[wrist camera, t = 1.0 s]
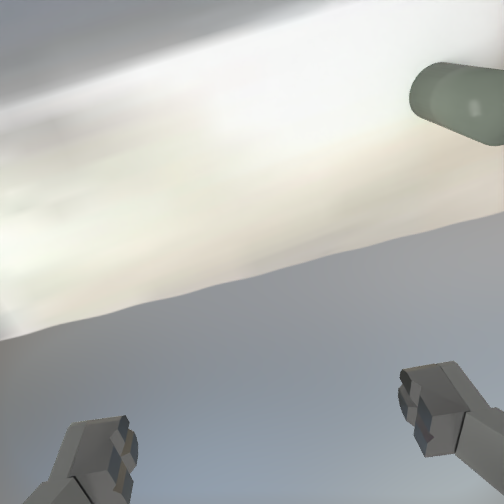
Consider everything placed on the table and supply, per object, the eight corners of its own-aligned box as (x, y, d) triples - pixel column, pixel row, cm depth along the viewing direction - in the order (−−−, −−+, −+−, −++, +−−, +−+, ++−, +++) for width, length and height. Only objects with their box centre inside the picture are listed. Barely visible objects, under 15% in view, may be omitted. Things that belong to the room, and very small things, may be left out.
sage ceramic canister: (411, 66, 34) (478, 78, 26) (465, 58, 34) (550, 67, 26) (407, 122, 37) (466, 150, 28) (457, 115, 37) (531, 140, 28)
